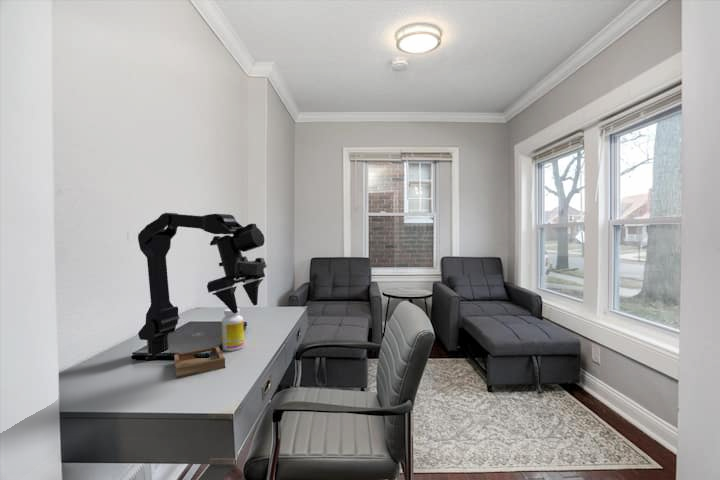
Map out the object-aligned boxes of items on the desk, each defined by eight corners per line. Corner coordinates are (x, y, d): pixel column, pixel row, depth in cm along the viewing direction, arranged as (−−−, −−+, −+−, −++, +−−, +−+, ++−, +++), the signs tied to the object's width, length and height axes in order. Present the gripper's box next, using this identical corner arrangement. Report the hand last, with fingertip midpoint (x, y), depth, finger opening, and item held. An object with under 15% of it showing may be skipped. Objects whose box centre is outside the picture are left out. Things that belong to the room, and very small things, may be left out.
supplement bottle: (248, 346, 109) (247, 308, 108) (231, 353, 103) (229, 312, 103) (235, 343, 112) (234, 306, 112) (218, 349, 107) (216, 310, 106)
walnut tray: (174, 363, 96) (174, 354, 96) (218, 354, 103) (218, 345, 103) (176, 378, 86) (176, 368, 86) (225, 367, 92) (224, 358, 92)
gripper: (233, 251, 83) (250, 310, 82) (272, 246, 101) (286, 295, 100) (198, 262, 86) (214, 320, 85) (242, 256, 104) (256, 303, 103)
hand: (246, 309), depth 93 cm, fingers open, 9 cm apart
